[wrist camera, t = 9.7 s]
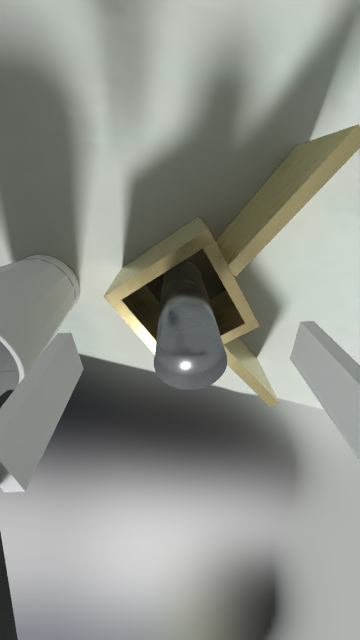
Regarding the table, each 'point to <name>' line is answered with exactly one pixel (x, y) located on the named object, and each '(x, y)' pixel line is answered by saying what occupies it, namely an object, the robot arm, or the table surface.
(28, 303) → the cup
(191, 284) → the pin
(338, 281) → the table surface
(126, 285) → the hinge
